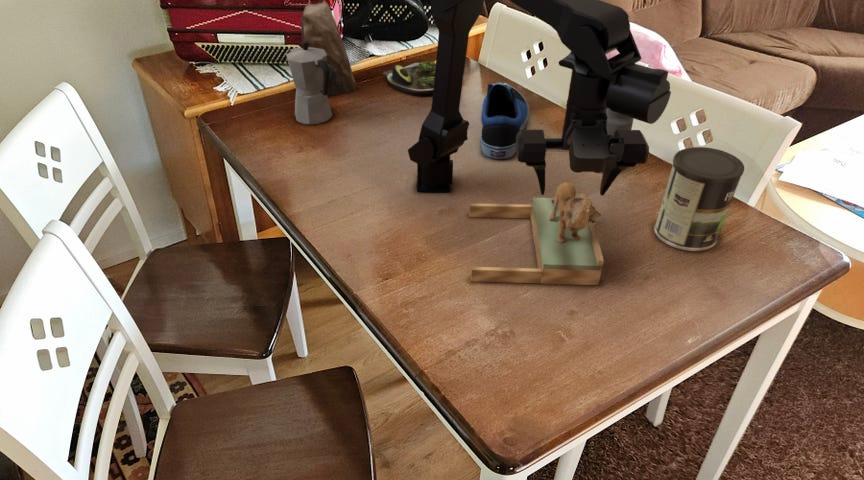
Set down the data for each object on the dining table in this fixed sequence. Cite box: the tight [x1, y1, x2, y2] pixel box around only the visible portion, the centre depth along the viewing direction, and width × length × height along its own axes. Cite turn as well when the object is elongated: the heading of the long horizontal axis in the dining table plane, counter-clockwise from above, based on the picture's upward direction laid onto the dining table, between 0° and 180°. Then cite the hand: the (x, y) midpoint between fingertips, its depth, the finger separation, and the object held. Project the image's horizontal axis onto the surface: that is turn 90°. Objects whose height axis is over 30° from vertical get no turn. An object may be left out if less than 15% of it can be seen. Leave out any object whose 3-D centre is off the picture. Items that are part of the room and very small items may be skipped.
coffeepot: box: [285, 40, 333, 126], centre depth 142 cm, size 15×9×18 cm, turn 37°
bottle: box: [602, 108, 634, 173], centre depth 121 cm, size 6×6×15 cm
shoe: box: [480, 81, 530, 160], centre depth 136 cm, size 11×30×12 cm, turn 169°
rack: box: [469, 193, 605, 286], centre depth 104 cm, size 20×19×5 cm
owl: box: [299, 0, 357, 97], centre depth 156 cm, size 13×13×20 cm
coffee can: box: [653, 146, 745, 252], centre depth 103 cm, size 10×10×14 cm
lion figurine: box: [549, 181, 602, 243], centre depth 100 cm, size 15×5×9 cm, turn 6°
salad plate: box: [382, 60, 436, 97], centre depth 161 cm, size 19×18×5 cm
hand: (571, 193), depth 99 cm, fingers open, 9 cm apart
